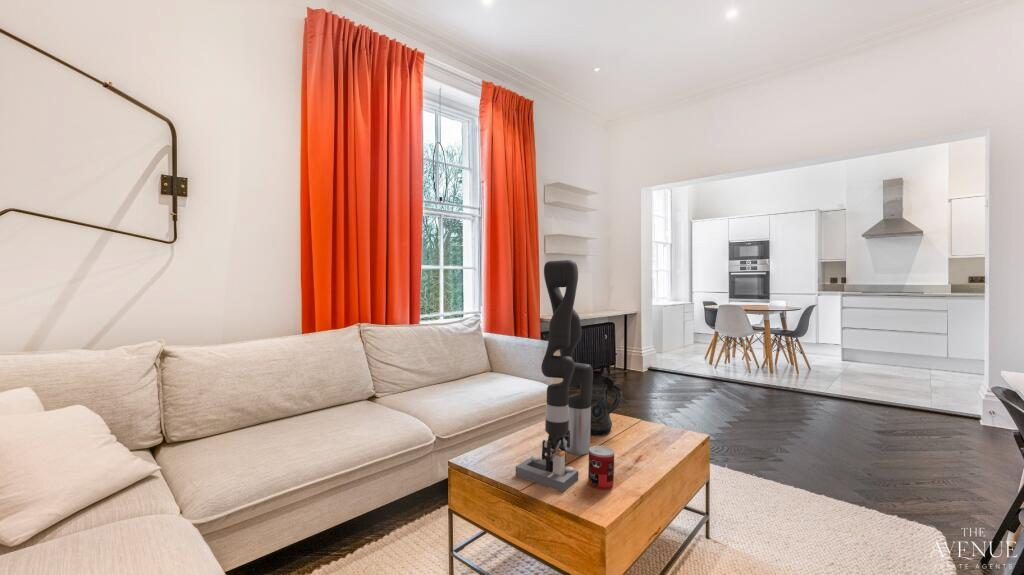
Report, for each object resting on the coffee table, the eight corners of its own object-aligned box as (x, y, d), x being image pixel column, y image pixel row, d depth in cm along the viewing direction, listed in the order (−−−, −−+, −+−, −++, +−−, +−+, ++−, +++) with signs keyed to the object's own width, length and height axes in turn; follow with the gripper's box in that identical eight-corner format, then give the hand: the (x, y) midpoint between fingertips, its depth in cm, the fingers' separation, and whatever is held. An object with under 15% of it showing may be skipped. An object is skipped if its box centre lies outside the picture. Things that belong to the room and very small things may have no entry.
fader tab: (550, 475, 142) (551, 447, 142) (564, 480, 139) (565, 451, 139) (546, 479, 140) (547, 450, 140) (560, 483, 137) (561, 454, 137)
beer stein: (569, 422, 194) (571, 367, 193) (612, 422, 195) (613, 367, 194) (577, 436, 178) (579, 376, 177) (623, 436, 179) (625, 376, 178)
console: (532, 464, 151) (532, 454, 151) (578, 479, 140) (578, 469, 140) (515, 475, 143) (515, 464, 143) (563, 492, 132) (563, 481, 132)
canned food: (585, 478, 141) (586, 445, 141) (609, 477, 142) (610, 445, 142) (591, 490, 134) (592, 455, 133) (616, 489, 134) (617, 455, 134)
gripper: (556, 426, 131) (555, 478, 131) (577, 414, 142) (576, 462, 143) (535, 420, 135) (534, 471, 136) (557, 409, 147) (557, 456, 147)
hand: (556, 466), depth 139 cm, fingers open, 8 cm apart
